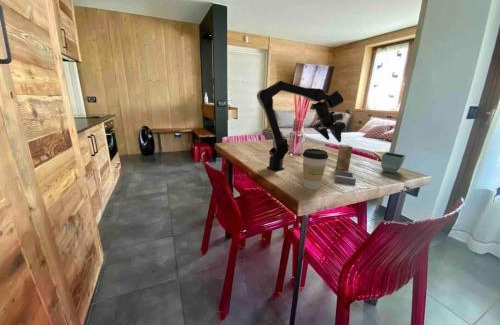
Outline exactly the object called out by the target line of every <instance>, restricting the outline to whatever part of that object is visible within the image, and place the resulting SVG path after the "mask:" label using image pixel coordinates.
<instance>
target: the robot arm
mask: <svg viewBox="0 0 500 325" xmlns="http://www.w3.org/2000/svg"><path fill="white" fill-rule="evenodd" d="M280 92H285V93H289V94H294V95H296V96H301V97H302V98H305V99H306V100H309V101H311V102H316V103H311V104H310V107H309V109H310V110H315V113H316V115H317V117H316V120H317V122H316V123H315V124H313V129H314V131H316V132H317V133H318V134H320V135H321V136H322V137H323V138H325V139H326V140H328V141H329V140H330V135H329V131H330V132H331V135H332V136H333V137H334V139H335V140H336V141H337V142H338V143H341V142H342V131H343V130H344V129H346V128H347V125H346V122H343V121H342V120H343V119H344V114H343V112H335V111H330V109H333V110H334V108H336V107H338V106H339V105H341V104H343V103H344V97H343V96H342V94H341V93H339V91H338V90H334V91H332V92H331V93H330V94H328V93H325V91H324V89H322V88H316V87H315V88H312V87H304V86H301V85H298V84H297V85H296V84H292V83H290V82H285V81H284V80H279V81H276V82H275V83H274V84H272V85H270V86H268V87H266V89H265V88H264V89H260V90H259V91H258V92H257V94H256V98H257V100H258V103H259V105H260V107H262V109H263V111H264V114H265V117H266V121H267V124H268V127H269V130H270V133H271V136H272V145H273V146H272V147H271V149H270V150H268V153H269V155H270V156H269V163H268V166H267V167H266V168H267V169H268V170H272V171H274V172H277V171H282V170H285V167H283V162H284V158H285V156H286V154H288V152H289V147H290V146H289V144H288V139H287V138H286V137H285V136H282V134H281V130H280V127H279V123H278V121H277V117H276V113H275V111H274V99H273V97H275V96H276V95H278V93H280ZM328 129H329V131H328Z"/></svg>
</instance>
